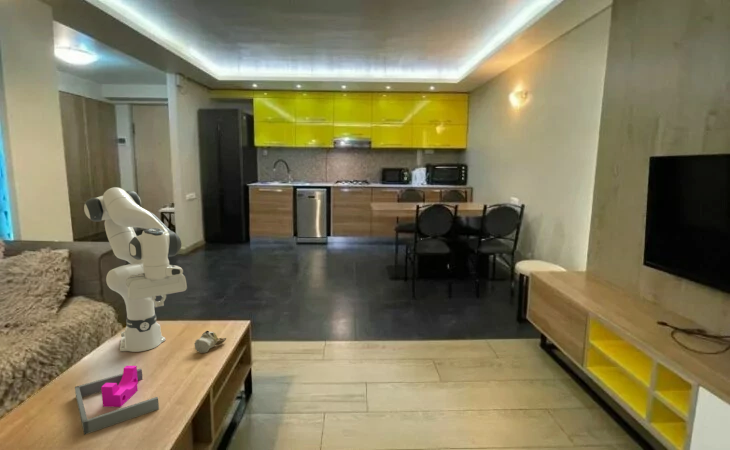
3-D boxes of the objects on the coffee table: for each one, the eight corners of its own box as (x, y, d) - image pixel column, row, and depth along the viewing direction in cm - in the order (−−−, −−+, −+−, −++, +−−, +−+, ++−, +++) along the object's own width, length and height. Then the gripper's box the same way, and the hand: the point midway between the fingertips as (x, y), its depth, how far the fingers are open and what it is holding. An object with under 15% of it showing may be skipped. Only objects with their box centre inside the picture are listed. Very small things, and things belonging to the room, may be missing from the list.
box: (75, 397, 146) (74, 386, 146) (141, 377, 160) (141, 368, 159) (84, 434, 126) (83, 422, 126) (158, 409, 140) (158, 398, 139)
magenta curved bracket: (121, 407, 141) (119, 387, 140) (103, 407, 141) (101, 386, 140) (144, 384, 156) (143, 365, 155) (128, 384, 156) (126, 365, 155)
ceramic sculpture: (187, 334, 179) (207, 324, 194) (187, 353, 180) (207, 341, 194) (208, 337, 177) (227, 326, 191) (209, 356, 178) (227, 344, 192)
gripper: (127, 277, 146) (130, 314, 148) (187, 268, 159) (189, 303, 161) (124, 274, 150) (126, 309, 152) (182, 265, 163) (184, 298, 165)
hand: (159, 306), depth 157 cm, fingers closed
